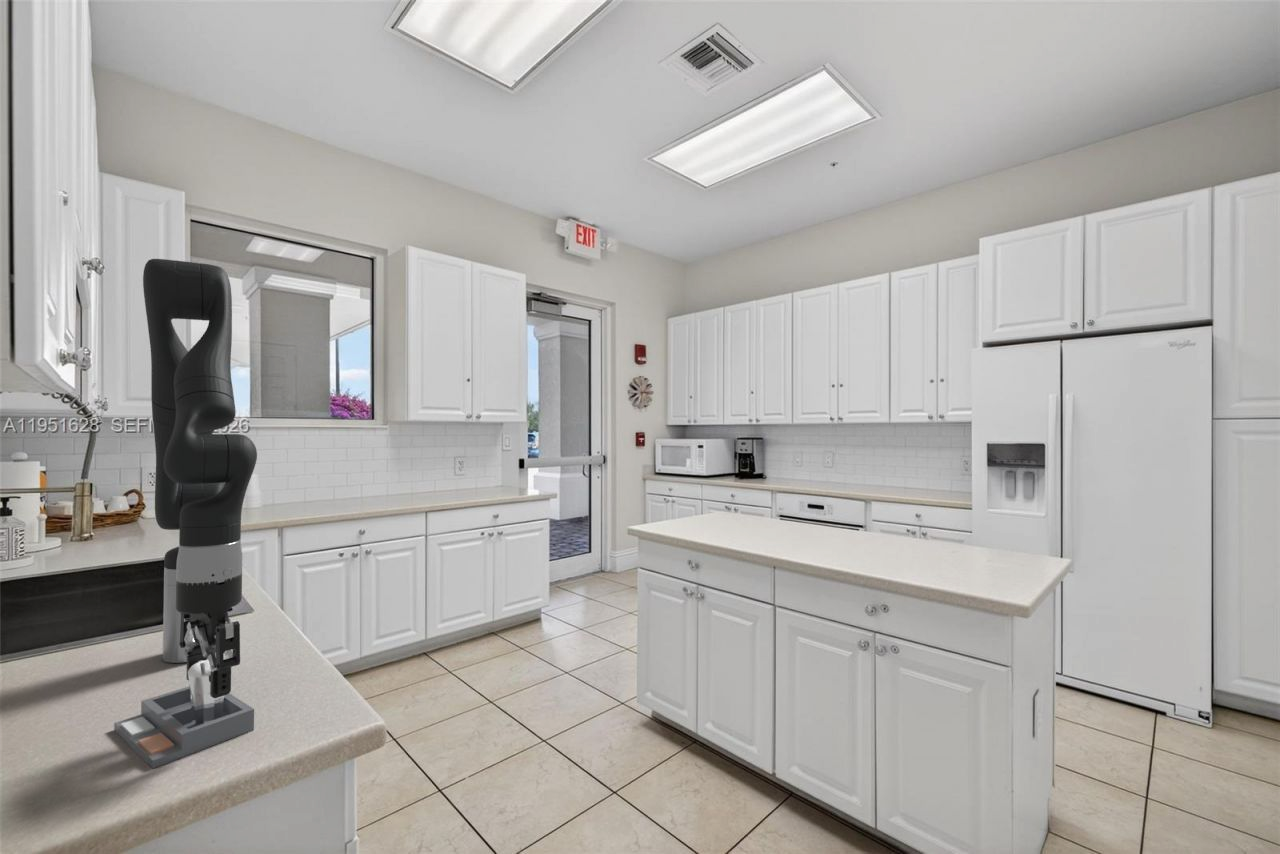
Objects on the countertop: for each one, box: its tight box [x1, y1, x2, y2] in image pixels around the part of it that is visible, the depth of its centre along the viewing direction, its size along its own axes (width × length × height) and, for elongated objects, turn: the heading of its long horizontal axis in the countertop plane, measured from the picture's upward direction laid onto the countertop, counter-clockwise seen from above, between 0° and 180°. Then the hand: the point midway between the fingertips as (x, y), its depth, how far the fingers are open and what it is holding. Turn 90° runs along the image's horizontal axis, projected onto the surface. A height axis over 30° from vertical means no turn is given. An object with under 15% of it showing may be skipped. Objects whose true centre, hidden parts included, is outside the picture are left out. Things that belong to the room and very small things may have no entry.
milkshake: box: [188, 659, 224, 727], centre depth 81 cm, size 4×5×10 cm
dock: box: [113, 686, 255, 769], centre depth 82 cm, size 16×12×3 cm
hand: (208, 687), depth 81 cm, fingers open, 8 cm apart
